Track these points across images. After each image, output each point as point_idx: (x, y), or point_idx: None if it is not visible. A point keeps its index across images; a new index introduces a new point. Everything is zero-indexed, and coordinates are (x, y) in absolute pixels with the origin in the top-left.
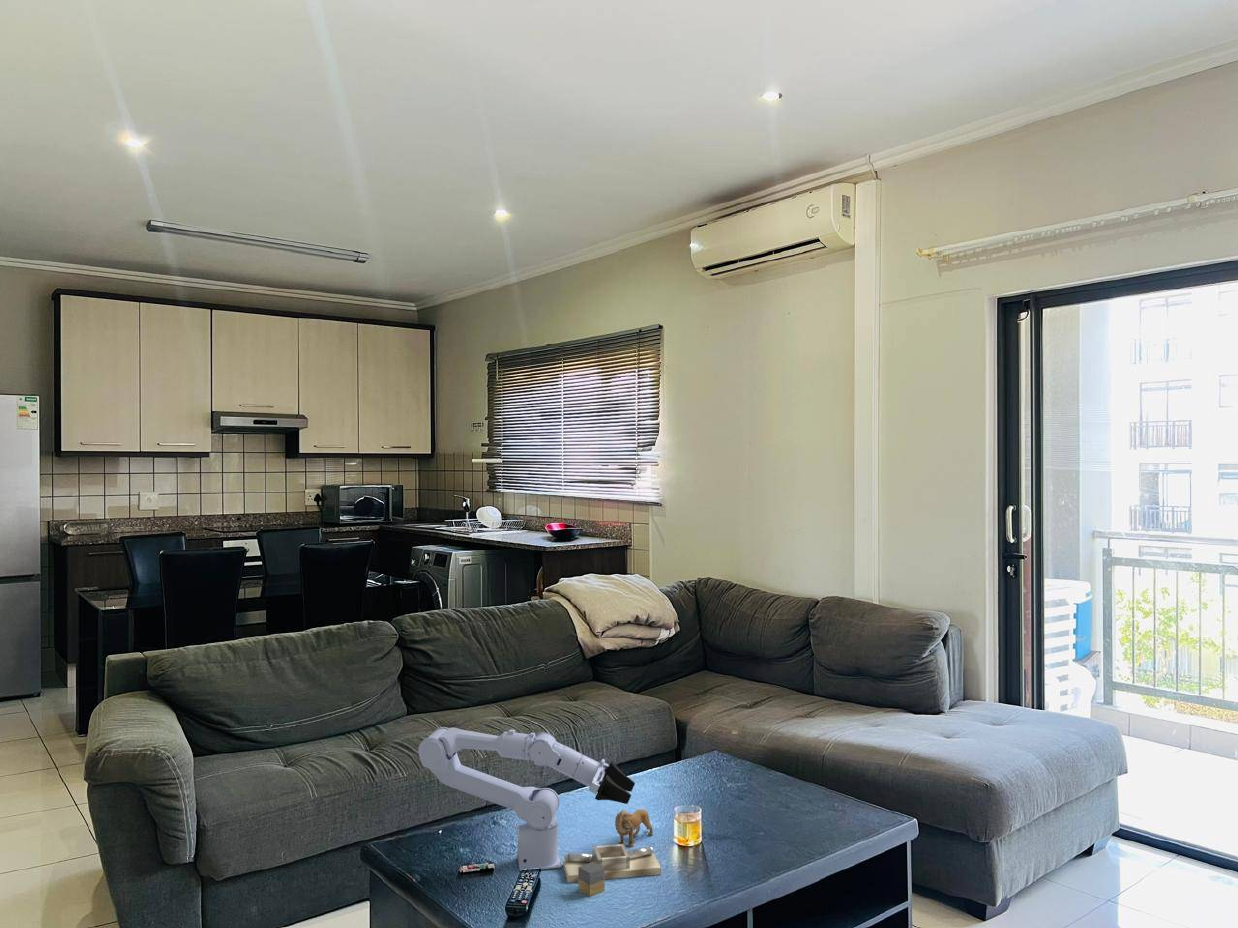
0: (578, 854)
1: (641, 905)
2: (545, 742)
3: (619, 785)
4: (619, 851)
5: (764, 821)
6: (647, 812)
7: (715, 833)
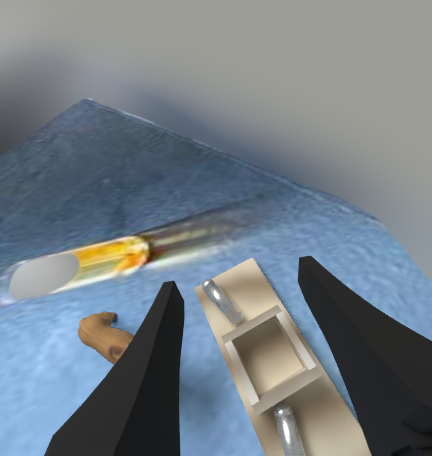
0: (298, 454)
1: (365, 261)
2: None
3: (176, 356)
4: (233, 343)
5: (73, 184)
6: (83, 318)
7: (106, 225)
